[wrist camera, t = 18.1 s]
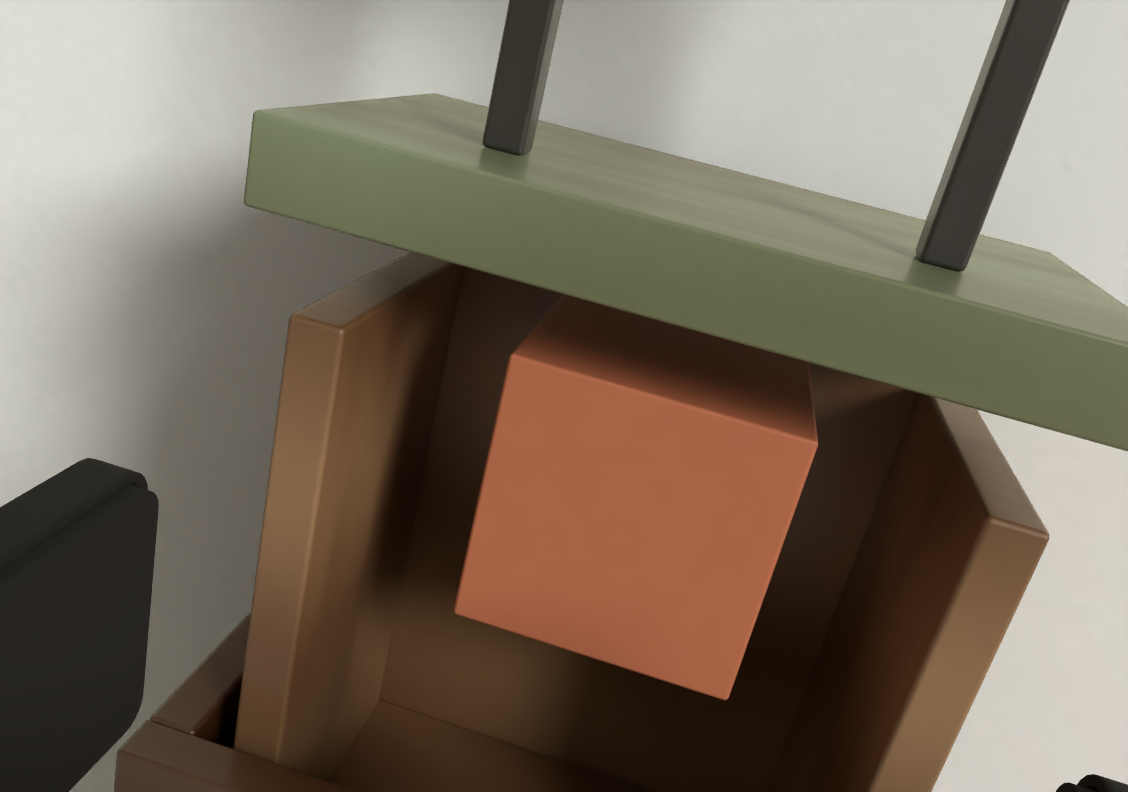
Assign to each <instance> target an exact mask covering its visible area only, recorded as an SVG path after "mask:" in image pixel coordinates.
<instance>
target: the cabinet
mask: <svg viewBox="0 0 1128 792" xmlns="http://www.w3.org/2000/svg"><path fill="white" fill-rule="evenodd" d="M250 616H251V612H250V613H249V614H248V615H247V616H246V617H245V618H244V619H243V620H242V621H241V622H240V623H239V625H238V626H237V627H236V628H235V629H234V630H233V631H232V632H231V633H230V634H229V635H228V636H227V637H226V638H225V639H224V640H223V641H222V642H221V643H220V644H219V646H218V647H217V648H216V649H215V650H214V651H213V652H212V653H211V654H210V655H209V656H208V657H207V658H206V659H205V660H204V661H203V662H202V663H201V664H200V665H199V667H198V668H197V669H196V670H195V671H194V672H193V673H192V674H191V675H190V676H189V677H188V678H187V679H186V680H185V681H184V682H183V683H182V684H181V685H180V686H179V688H178V689H177V690H176V691H175V692H174V693H173V694H172V695H171V696H170V697H169V698H168V699H167V700H166V701H165V702H164V703H163V704H162V705H161V706H160V707H159V709H158V710H157V711H156V712H155V713H154V714H153V715H152V716H151V718H150V720H147V721H145V722H144V723H143V724H142V725H141V727H140V728H139V729H138V730H137V731H136V732H135V733H134V734H133V735H132V736H131V737H130V738H129V739H128V740H127V741H126V742H125V743H124V744H123V745H122V746H121V747H120V749H119V750H118V752H117V759H116V772H115V785H114V792H356V791H353V790H350V789H348V788H345V787H342V786H339V785H336V784H333V783H330V782H327V781H324V780H322V779H319V778H316V777H313V776H310V775H307V774H304V773H301V772H298V771H295V770H293V769H290V768H287V767H284V766H281V765H278V764H275V763H272V762H269V761H267V760H264V759H261V758H258V757H255V756H252V755H249V754H246V753H243V752H241V751H238V750H235V749H233V746H234V739H235V731H236V723H237V716H238V708H239V700H240V693H241V685H242V677H243V670H244V662H245V654H246V647H247V639H248V631H249V624H250Z"/></svg>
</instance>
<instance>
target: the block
mask: <svg viewBox="0 0 1128 792" xmlns="http://www.w3.org/2000/svg"><path fill="white" fill-rule="evenodd" d="M817 447H818V439H817V430H816V421H815V412H814V403H813V395H812V386H811V377H810V368H809V362H805V361H802V360H798V359H794V358H791V357H787V356H784V355H780V354H777V353H773V352H769V351H766V350H762V349H759V348H755V347H751V346H748V345H744V344H741V343H737V342H733V341H730V340H726V339H723V338H719V337H716V336H712V335H708V334H705V333H701V332H698V331H694V330H690V329H687V328H683V327H680V326H676V325H672V324H669V323H665V322H662V321H658V320H654V319H651V318H647V317H644V316H640V315H637V314H633V313H629V312H626V311H622V310H619V309H615V308H611V307H608V306H604V305H601V304H597V303H593V302H590V301H586V300H583V299H579V298H576V297H572V296H568V295H564V296H563V297H562V298H561V299H560V300H559V301H558V302H557V303H556V305H555V306H554V307H553V308H552V309H551V310H550V311H549V312H548V313H547V315H546V316H545V317H544V318H543V319H542V320H541V321H540V322H539V323H538V325H537V326H536V327H535V328H534V329H533V330H532V331H531V332H530V333H529V334H528V336H527V337H526V338H525V339H524V340H523V341H522V342H521V343H520V344H519V346H518V347H517V348H516V349H515V350H514V351H513V352H512V353H511V355H510V356H509V360H508V365H507V369H506V374H505V378H504V383H503V387H502V392H501V396H500V401H499V406H498V410H497V415H496V419H495V424H494V428H493V433H492V437H491V442H490V446H489V451H488V456H487V460H486V465H485V469H484V474H483V478H482V483H481V487H480V492H479V497H478V501H477V506H476V510H475V515H474V519H473V524H472V528H471V533H470V537H469V542H468V547H467V551H466V556H465V560H464V565H463V569H462V574H461V578H460V583H459V587H458V592H457V597H456V601H455V606H454V613H455V614H457V615H460V616H463V617H466V618H469V619H472V620H475V621H479V622H482V623H485V624H488V625H491V626H494V627H497V628H500V629H503V630H507V631H510V632H513V633H516V634H519V635H522V636H525V637H528V638H532V639H535V640H538V641H541V642H544V643H547V644H550V645H553V646H556V647H560V648H563V649H566V650H569V651H572V652H575V653H578V654H581V655H585V656H588V657H591V658H594V659H597V660H600V661H603V662H606V663H609V664H613V665H616V666H619V667H622V668H625V669H628V670H631V671H634V672H638V673H641V674H644V675H647V676H650V677H653V678H656V679H659V680H663V681H666V682H669V683H672V684H675V685H678V686H681V687H684V688H687V689H691V690H694V691H697V692H700V693H703V694H706V695H709V696H712V697H716V698H719V699H722V700H727V699H728V698H729V695H730V692H731V690H732V687H733V684H734V681H735V678H736V675H737V673H738V670H739V667H740V664H741V661H742V659H743V656H744V653H745V650H746V647H747V644H748V642H749V639H750V636H751V633H752V630H753V628H754V625H755V622H756V619H757V616H758V613H759V611H760V608H761V605H762V602H763V599H764V596H765V594H766V591H767V588H768V585H769V582H770V580H771V577H772V574H773V571H774V568H775V565H776V563H777V560H778V557H779V554H780V551H781V548H782V546H783V543H784V540H785V537H786V534H787V532H788V529H789V526H790V523H791V520H792V517H793V515H794V512H795V509H796V506H797V503H798V500H799V498H800V495H801V492H802V489H803V486H804V484H805V481H806V478H807V475H808V472H809V469H810V467H811V464H812V461H813V458H814V455H815V453H816V450H817Z"/></svg>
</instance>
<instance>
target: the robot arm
mask: <svg viewBox="0 0 1128 792" xmlns="http://www.w3.org/2000/svg"><path fill="white" fill-rule="evenodd" d="M157 520H158V498H157V495H156V494H155V493H154V492H152V491H148V485H147V482H146V479H145V477H144V476H143V475H142V474H141V473H138V472H135V471H131V470H128V469H125V468H122V467H119V466H116V465H112V464H109V463H106V462H103V461H100V460H97V459H91V458H87V459H84V460H81V461H79V462H77V463H75V464H74V465H72V466H70V467H69V468H67V469H65V470H63V471H62V472H60V473H58V474H57V475H55V476H53V477H51V478H50V479H48V480H46V481H45V482H43V483H41V484H39V485H38V486H36V487H34V488H33V489H31V490H29V491H27V492H26V493H24V494H22V495H21V496H19V497H17V498H15V499H14V500H12V501H10V502H9V503H7V504H5V505H3V506H2V507H0V792H69V791H70V790H71V789H72V788H73V787H74V786H75V785H76V783H77V782H78V781H79V780H80V779H81V778H82V777H83V776H84V775H85V774H86V773H87V772H88V771H89V770H90V769H91V768H92V767H93V766H94V765H95V764H96V763H97V762H98V761H99V760H100V759H101V757H102V756H103V755H104V754H105V753H106V752H107V751H108V750H109V749H110V748H111V747H112V746H113V745H114V744H115V743H116V742H117V741H118V740H119V739H120V738H121V737H122V736H123V735H124V734H125V732H126V731H127V730H128V729H129V727H130V726H131V724H132V723H133V721H134V720H135V718H136V716H137V713H138V711H139V709H140V706H141V703H142V698H143V690H144V678H145V666H146V654H147V641H148V629H149V617H150V605H151V593H152V581H153V569H154V556H155V544H156V532H157ZM1056 792H1128V785H1127V784H1124V783H1120V782H1117V781H1114V780H1111V779H1108V778H1105V777H1101V776H1098V775H1095V774H1092V775H1087V776H1085V777H1084V778H1083V779H1081V780H1080V781H1079V783H1078V784H1077V785H1075V784H1072V783H1064V784H1062V785H1061V786H1060V787H1059V788H1058V789H1057V791H1056Z"/></svg>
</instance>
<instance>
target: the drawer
mask: <svg viewBox="0 0 1128 792" xmlns="http://www.w3.org/2000/svg"><path fill="white" fill-rule="evenodd" d="M1069 1H1070V0H1006V2H1005V5H1004V8H1003V11H1002V13H1001V16H1000V19H999V22H998V24H997V27H996V30H995V33H994V35H993V38H992V41H991V44H990V46H989V49H988V52H987V55H986V57H985V60H984V63H983V66H982V68H981V71H980V74H979V77H978V79H977V82H976V85H975V87H974V90H973V93H972V96H971V98H970V101H969V104H968V107H967V109H966V112H965V115H964V118H963V120H962V123H961V126H960V129H959V131H958V134H957V137H956V140H955V142H954V145H953V148H952V151H951V153H950V156H949V159H948V162H947V164H946V167H945V170H944V173H943V175H942V178H941V181H940V183H939V186H938V189H937V192H936V194H935V197H934V200H933V203H932V205H931V208H930V211H929V214H928V216H927V219H926V220H922V219H918V218H914V217H910V216H906V215H902V214H899V213H895V212H891V211H887V210H883V209H879V208H875V207H872V206H868V205H864V204H860V203H856V202H852V201H848V200H845V199H841V198H837V197H833V196H829V195H825V194H821V193H818V192H814V191H810V190H806V189H802V188H798V187H794V186H790V185H787V184H783V183H779V182H775V181H771V180H767V179H763V178H760V177H756V176H752V175H748V174H744V173H740V172H736V171H733V170H729V169H725V168H721V167H717V166H713V165H709V164H705V163H702V162H698V161H694V160H690V159H686V158H682V157H678V156H675V155H671V154H667V153H663V152H659V151H655V150H651V149H648V148H644V147H640V146H636V145H632V144H628V143H624V142H620V141H617V140H613V139H609V138H605V137H601V136H597V135H593V134H590V133H586V132H582V131H578V130H574V129H570V128H566V127H563V126H559V125H555V124H551V123H547V122H543V121H539V120H538V118H539V113H540V108H541V104H542V99H543V94H544V89H545V85H546V80H547V75H548V70H549V66H550V61H551V56H552V51H553V47H554V42H555V37H556V33H557V28H558V23H559V18H560V14H561V9H562V4H563V0H509V5H508V11H507V16H506V21H505V26H504V31H503V37H502V42H501V47H500V52H499V57H498V63H497V68H496V73H495V78H494V83H493V89H492V94H491V99H490V104H489V107H485V106H481V105H478V104H474V103H470V102H466V101H462V100H458V99H454V98H450V97H447V96H443V95H439V94H435V93H434V94H423V95H413V96H402V97H392V98H381V99H371V100H361V101H350V102H340V103H329V104H319V105H308V106H298V107H287V108H277V109H266V110H257V111H255V112H254V114H253V122H252V131H251V140H250V149H249V159H248V168H247V177H246V186H245V196H244V204H245V205H247V206H249V207H252V208H256V209H260V210H263V211H267V212H270V213H274V214H278V215H281V216H285V217H288V218H292V219H296V220H299V221H303V222H306V223H310V224H313V225H317V226H321V227H324V228H328V229H331V230H335V231H339V232H342V233H346V234H349V235H353V236H357V237H360V238H364V239H367V240H371V241H374V242H378V243H382V244H385V245H389V246H392V247H396V248H400V249H403V250H407V251H410V253H408V254H406V255H404V256H402V257H400V258H398V259H396V260H394V261H392V262H391V263H389V264H387V265H385V266H383V267H381V268H379V269H377V270H375V271H373V272H371V273H370V274H368V275H366V276H364V277H362V278H360V279H358V280H356V281H354V282H352V283H350V284H349V285H347V286H345V287H343V288H341V289H339V290H337V291H335V292H333V293H331V294H330V295H328V296H326V297H324V298H322V299H320V300H318V301H316V302H314V303H312V304H310V305H309V306H307V307H305V308H303V309H301V310H299V311H297V312H295V313H293V314H292V315H291V316H290V318H289V325H288V333H287V341H286V348H285V356H284V364H283V371H282V379H281V387H280V394H279V402H278V410H277V417H276V425H275V433H274V440H273V448H272V455H271V463H270V471H269V478H268V486H267V494H266V501H265V509H264V517H263V524H262V532H261V540H260V547H259V555H258V563H257V570H256V578H255V586H254V593H253V601H252V608H251V616H250V624H249V631H248V639H247V647H246V654H245V662H244V670H243V677H242V685H241V693H240V700H239V708H238V716H237V723H236V731H235V739H234V746H233V749H235V750H238V751H241V752H243V753H246V754H249V755H252V756H255V757H258V758H261V759H264V760H267V761H269V762H272V763H275V764H278V765H281V766H284V767H287V768H290V769H293V770H295V771H298V772H301V773H304V774H307V775H310V776H313V777H316V778H319V779H322V780H324V781H327V782H330V783H333V784H336V785H339V786H342V787H345V788H348V789H350V790H353V791H356V792H931V791H932V789H933V787H934V785H935V783H936V781H937V778H938V776H939V774H940V772H941V770H942V768H943V766H944V763H945V761H946V759H947V757H948V755H949V753H950V751H951V748H952V746H953V744H954V742H955V740H956V738H957V736H958V733H959V731H960V729H961V727H962V725H963V723H964V721H965V718H966V716H967V714H968V712H969V710H970V708H971V706H972V703H973V701H974V699H975V697H976V695H977V693H978V691H979V688H980V686H981V684H982V682H983V680H984V678H985V676H986V673H987V671H988V669H989V667H990V665H991V663H992V661H993V658H994V656H995V654H996V652H997V650H998V648H999V646H1000V643H1001V641H1002V639H1003V637H1004V635H1005V633H1006V631H1007V628H1008V626H1009V624H1010V622H1011V620H1012V618H1013V616H1014V613H1015V611H1016V609H1017V607H1018V605H1019V603H1020V601H1021V598H1022V596H1023V594H1024V592H1025V590H1026V588H1027V585H1028V583H1029V581H1030V579H1031V577H1032V575H1033V573H1034V570H1035V568H1036V566H1037V564H1038V562H1039V560H1040V558H1041V555H1042V553H1043V551H1044V549H1045V547H1046V545H1047V543H1048V540H1049V533H1048V531H1047V530H1046V528H1045V526H1044V524H1043V523H1042V521H1041V519H1040V517H1039V516H1038V514H1037V512H1036V511H1035V509H1034V507H1033V505H1032V504H1031V502H1030V500H1029V498H1028V497H1027V495H1026V493H1025V492H1024V490H1023V488H1022V486H1021V485H1020V483H1019V481H1018V479H1017V478H1016V476H1015V474H1014V473H1013V471H1012V469H1011V467H1010V466H1009V464H1008V462H1007V460H1006V459H1005V457H1004V455H1003V454H1002V452H1001V450H1000V448H999V447H998V445H997V443H996V441H995V440H994V438H993V436H992V435H991V433H990V431H989V429H988V428H987V426H986V424H985V422H984V421H983V419H982V417H981V416H980V414H979V412H978V410H981V411H985V412H988V413H992V414H995V415H999V416H1003V417H1006V418H1010V419H1013V420H1017V421H1021V422H1024V423H1028V424H1031V425H1035V426H1039V427H1042V428H1046V429H1049V430H1053V431H1057V432H1060V433H1064V434H1067V435H1071V436H1074V437H1078V438H1082V439H1085V440H1089V441H1092V442H1096V443H1100V444H1103V445H1107V446H1110V447H1114V448H1118V449H1121V450H1125V451H1128V307H1127V306H1125V305H1124V304H1123V303H1121V302H1120V301H1118V300H1117V299H1115V298H1114V297H1113V296H1111V295H1110V294H1108V293H1107V292H1105V291H1104V290H1102V289H1101V288H1100V287H1098V286H1097V285H1095V284H1094V283H1092V282H1091V281H1090V280H1088V279H1087V278H1085V277H1084V276H1082V275H1081V274H1080V273H1078V272H1077V271H1075V270H1074V269H1072V268H1071V267H1070V266H1068V265H1067V264H1065V263H1064V262H1062V261H1061V260H1060V259H1058V258H1057V257H1055V256H1054V255H1052V254H1051V253H1049V252H1045V251H1042V250H1038V249H1034V248H1030V247H1026V246H1022V245H1018V244H1015V243H1011V242H1007V241H1003V240H999V239H995V238H991V237H987V236H984V235H980V231H981V229H982V226H983V223H984V221H985V218H986V216H987V213H988V210H989V208H990V205H991V203H992V200H993V198H994V195H995V192H996V190H997V187H998V185H999V182H1000V179H1001V177H1002V174H1003V172H1004V169H1005V166H1006V164H1007V161H1008V159H1009V156H1010V154H1011V151H1012V148H1013V146H1014V143H1015V141H1016V138H1017V135H1018V133H1019V130H1020V128H1021V125H1022V122H1023V120H1024V117H1025V115H1026V112H1027V110H1028V107H1029V104H1030V102H1031V99H1032V97H1033V94H1034V91H1035V89H1036V86H1037V84H1038V81H1039V78H1040V76H1041V73H1042V71H1043V68H1044V66H1045V63H1046V60H1047V58H1048V55H1049V53H1050V50H1051V47H1052V45H1053V42H1054V40H1055V37H1056V35H1057V32H1058V29H1059V27H1060V24H1061V22H1062V19H1063V16H1064V14H1065V11H1066V9H1067V6H1068V3H1069ZM564 295H568V296H572V297H576V298H579V299H583V300H586V301H590V302H593V303H597V304H601V305H604V306H608V307H611V308H615V309H619V310H622V311H626V312H629V313H633V314H637V315H640V316H644V317H647V318H651V319H654V320H658V321H662V322H665V323H669V324H672V325H676V326H680V327H683V328H687V329H690V330H694V331H698V332H701V333H705V334H708V335H712V336H716V337H719V338H723V339H726V340H730V341H733V342H737V343H741V344H744V345H748V346H751V347H755V348H759V349H762V350H766V351H769V352H773V353H777V354H780V355H784V356H787V357H791V358H794V359H798V360H802V361H805V362H809V368H810V377H811V386H812V395H813V403H814V412H815V421H816V430H817V439H818V447H817V450H816V453H815V455H814V458H813V461H812V464H811V467H810V469H809V472H808V475H807V478H806V481H805V484H804V486H803V489H802V492H801V495H800V498H799V500H798V503H797V506H796V509H795V512H794V515H793V517H792V520H791V523H790V526H789V529H788V532H787V534H786V537H785V540H784V543H783V546H782V548H781V551H780V554H779V557H778V560H777V563H776V565H775V568H774V571H773V574H772V577H771V580H770V582H769V585H768V588H767V591H766V594H765V596H764V599H763V602H762V605H761V608H760V611H759V613H758V616H757V619H756V622H755V625H754V628H753V630H752V633H751V636H750V639H749V642H748V644H747V647H746V650H745V653H744V656H743V659H742V661H741V664H740V667H739V670H738V673H737V675H736V678H735V681H734V684H733V687H732V690H731V692H730V695H729V698H728V699H727V700H722V699H719V698H716V697H712V696H709V695H706V694H703V693H700V692H697V691H694V690H691V689H687V688H684V687H681V686H678V685H675V684H672V683H669V682H666V681H663V680H659V679H656V678H653V677H650V676H647V675H644V674H641V673H638V672H634V671H631V670H628V669H625V668H622V667H619V666H616V665H613V664H609V663H606V662H603V661H600V660H597V659H594V658H591V657H588V656H585V655H581V654H578V653H575V652H572V651H569V650H566V649H563V648H560V647H556V646H553V645H550V644H547V643H544V642H541V641H538V640H535V639H532V638H528V637H525V636H522V635H519V634H516V633H513V632H510V631H507V630H503V629H500V628H497V627H494V626H491V625H488V624H485V623H482V622H479V621H475V620H472V619H469V618H466V617H463V616H460V615H457V614H455V613H454V606H455V601H456V597H457V592H458V587H459V583H460V578H461V574H462V569H463V565H464V560H465V556H466V551H467V547H468V542H469V537H470V533H471V528H472V524H473V519H474V515H475V510H476V506H477V501H478V497H479V492H480V487H481V483H482V478H483V474H484V469H485V465H486V460H487V456H488V451H489V446H490V442H491V437H492V433H493V428H494V424H495V419H496V415H497V410H498V406H499V401H500V396H501V392H502V387H503V383H504V378H505V374H506V369H507V365H508V360H509V356H510V355H511V353H512V352H513V351H514V350H515V349H516V348H517V347H518V346H519V344H520V343H521V342H522V341H523V340H524V339H525V338H526V337H527V336H528V334H529V333H530V332H531V331H532V330H533V329H534V328H535V327H536V326H537V325H538V323H539V322H540V321H541V320H542V319H543V318H544V317H545V316H546V315H547V313H548V312H549V311H550V310H551V309H552V308H553V307H554V306H555V305H556V303H557V302H558V301H559V300H560V299H561V298H562V297H563V296H564ZM977 409H978V410H977Z"/></svg>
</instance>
